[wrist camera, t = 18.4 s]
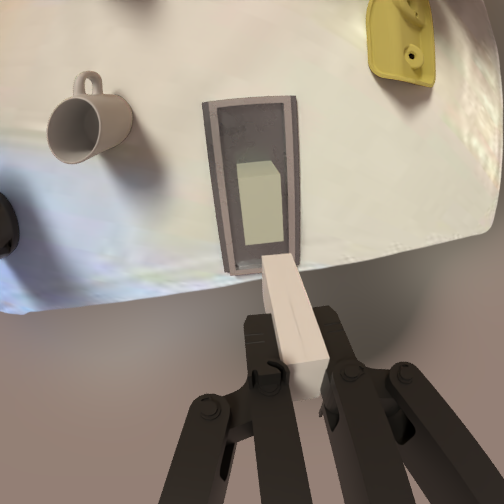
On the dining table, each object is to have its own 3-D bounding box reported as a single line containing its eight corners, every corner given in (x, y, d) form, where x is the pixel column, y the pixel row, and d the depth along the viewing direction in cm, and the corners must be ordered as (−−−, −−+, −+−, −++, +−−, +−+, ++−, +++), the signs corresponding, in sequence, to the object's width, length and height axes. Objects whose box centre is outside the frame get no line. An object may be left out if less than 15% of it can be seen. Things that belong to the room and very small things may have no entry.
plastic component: (435, 89, 31) (409, 81, 27) (400, 82, 36) (368, 76, 33) (427, -11, 20) (397, -34, 16) (393, -10, 25) (359, -29, 21)
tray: (224, 269, 48) (224, 276, 47) (202, 102, 34) (200, 102, 32) (298, 261, 49) (300, 268, 47) (294, 95, 34) (297, 95, 33)
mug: (135, 144, 36) (105, 160, 27) (87, 151, 35) (50, 169, 26) (132, 68, 30) (100, 60, 20) (83, 80, 29) (42, 79, 20)
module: (243, 221, 43) (245, 247, 36) (236, 163, 38) (237, 178, 31) (274, 218, 43) (283, 243, 36) (271, 160, 38) (280, 174, 32)
